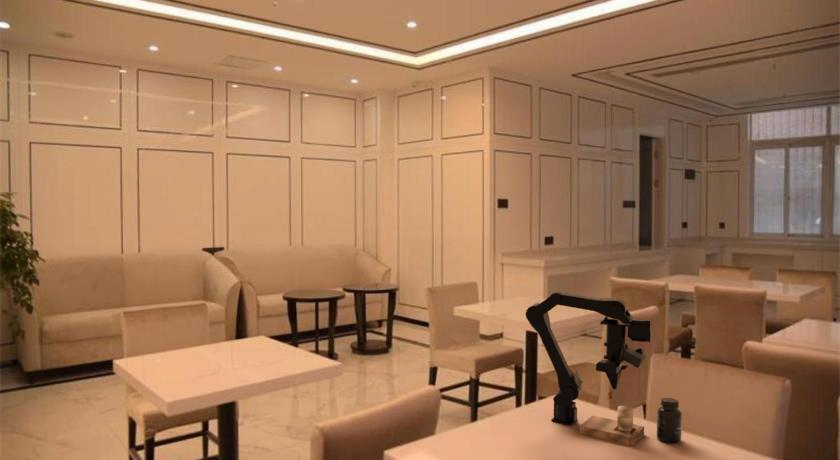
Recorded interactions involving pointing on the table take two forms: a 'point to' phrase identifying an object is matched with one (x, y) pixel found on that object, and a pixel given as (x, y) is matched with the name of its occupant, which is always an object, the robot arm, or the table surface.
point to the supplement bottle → (669, 421)
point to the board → (610, 430)
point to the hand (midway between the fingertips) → (614, 389)
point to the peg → (625, 419)
